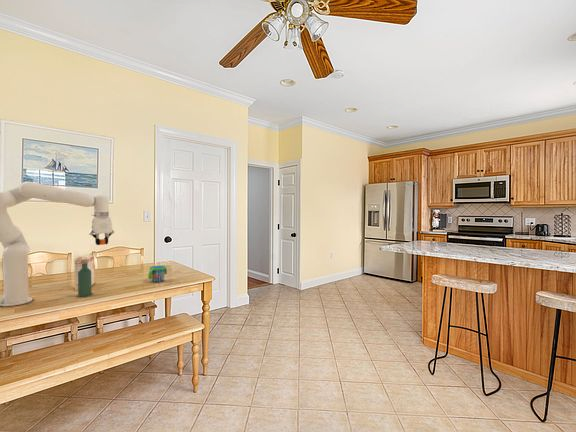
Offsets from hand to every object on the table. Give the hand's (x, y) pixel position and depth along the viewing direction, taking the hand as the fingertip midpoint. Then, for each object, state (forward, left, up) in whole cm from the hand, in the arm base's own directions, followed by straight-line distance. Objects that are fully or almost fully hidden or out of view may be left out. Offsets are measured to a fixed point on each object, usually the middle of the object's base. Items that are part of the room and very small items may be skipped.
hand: (101, 244), depth 174 cm
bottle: (-10, -3, -29) cm, 31 cm away
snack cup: (+33, -6, -29) cm, 44 cm away
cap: (0, 0, 0) cm, 0 cm away
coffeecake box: (-3, +18, -29) cm, 34 cm away
